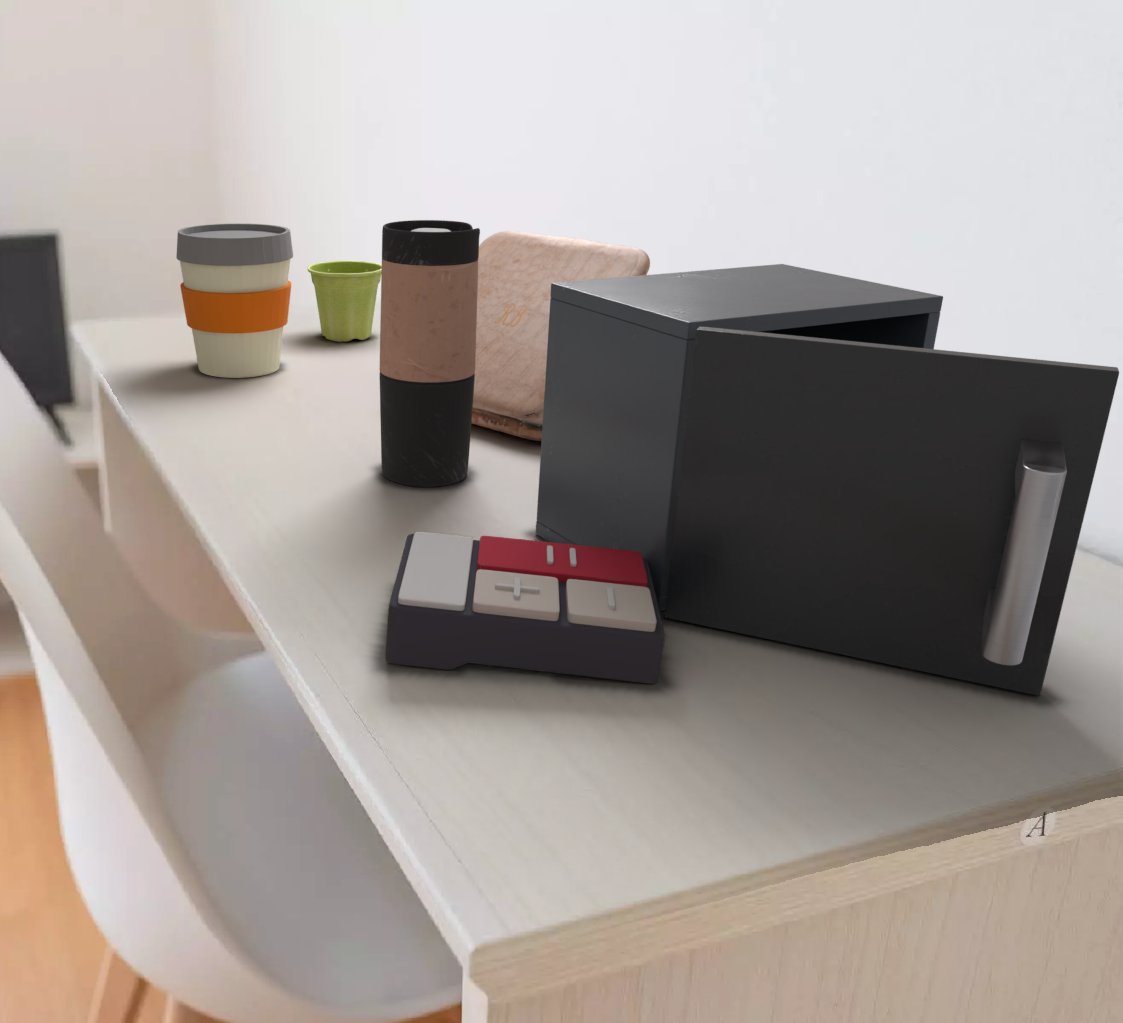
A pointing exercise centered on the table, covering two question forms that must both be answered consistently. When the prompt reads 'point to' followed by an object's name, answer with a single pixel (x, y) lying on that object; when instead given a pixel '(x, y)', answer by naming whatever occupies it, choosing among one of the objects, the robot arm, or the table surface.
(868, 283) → the dark grey cabinet
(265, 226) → the reusable coffee cup
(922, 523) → the dark grey door
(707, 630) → the table surface
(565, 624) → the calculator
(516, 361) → the case
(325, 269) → the plant pot
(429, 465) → the travel mug
